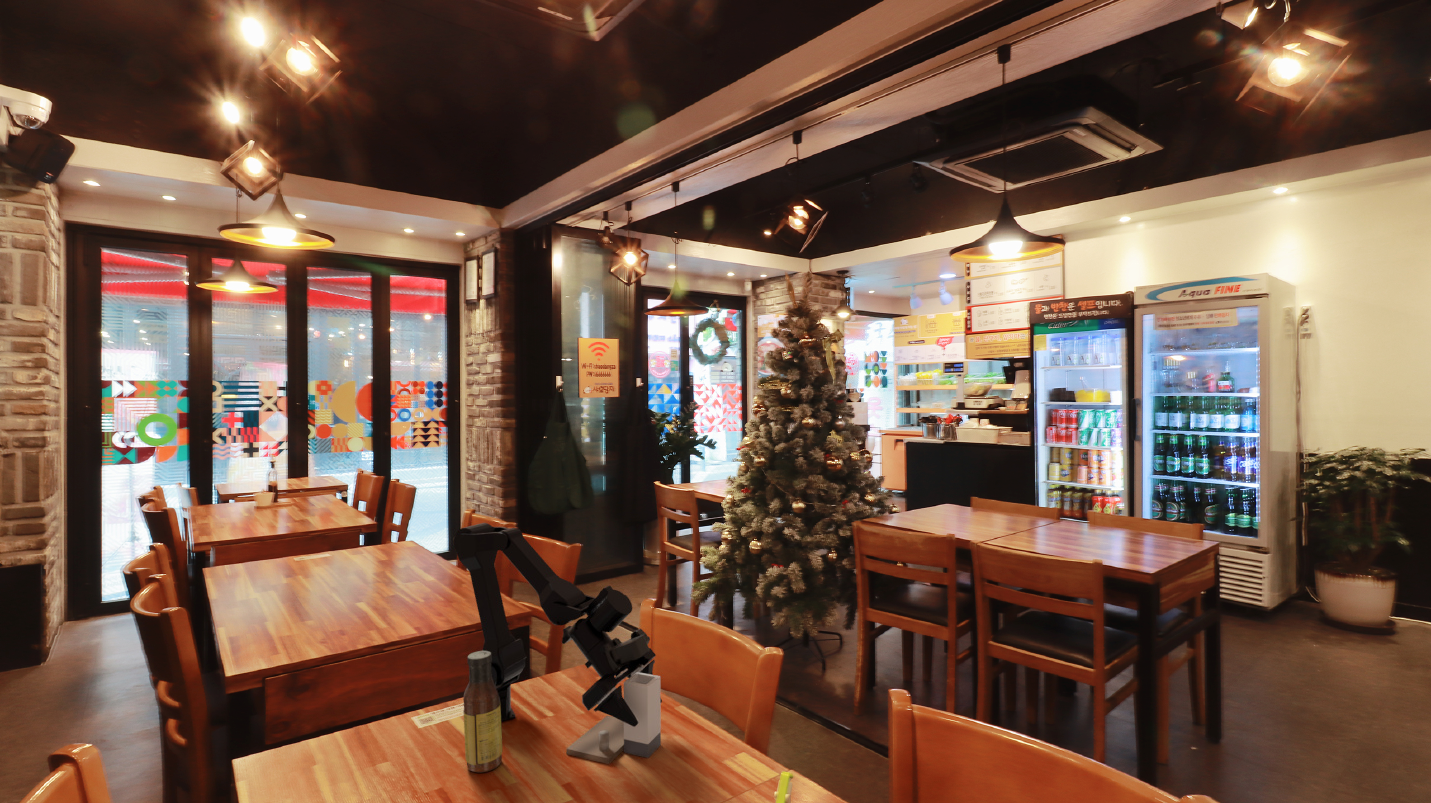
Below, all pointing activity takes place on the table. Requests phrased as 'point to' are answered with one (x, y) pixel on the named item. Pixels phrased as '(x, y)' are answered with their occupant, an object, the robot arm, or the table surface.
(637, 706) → the grey sleeve
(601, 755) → the pin board
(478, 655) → the sauce bottle
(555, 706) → the table surface
